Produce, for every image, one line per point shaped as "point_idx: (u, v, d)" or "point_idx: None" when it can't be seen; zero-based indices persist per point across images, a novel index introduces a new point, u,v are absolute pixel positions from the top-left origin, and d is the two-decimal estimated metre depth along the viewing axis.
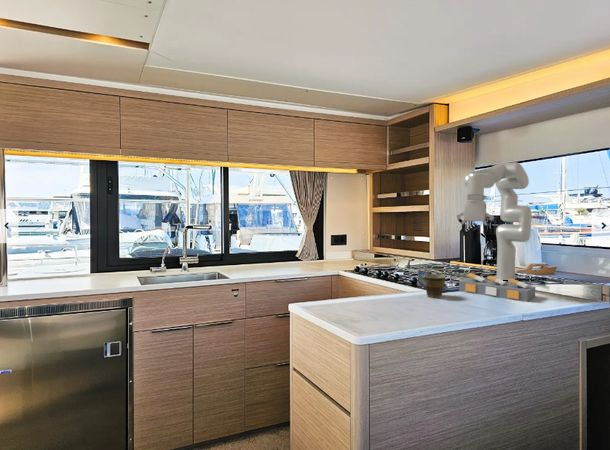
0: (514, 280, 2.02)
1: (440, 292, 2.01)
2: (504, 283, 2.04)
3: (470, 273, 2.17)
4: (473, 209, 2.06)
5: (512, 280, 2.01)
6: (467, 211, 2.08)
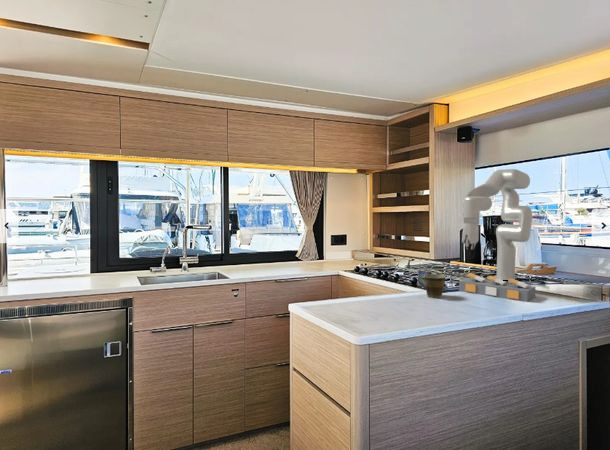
0: (514, 280, 2.02)
1: (440, 292, 2.01)
2: (504, 283, 2.04)
3: (470, 273, 2.17)
4: (475, 232, 2.13)
5: (512, 280, 2.01)
6: (473, 234, 2.11)
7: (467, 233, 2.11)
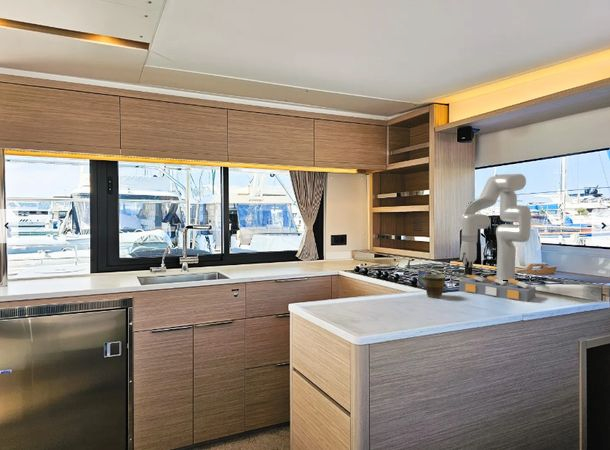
0: (514, 280, 2.02)
1: (440, 292, 2.01)
2: (504, 283, 2.04)
3: None
4: (473, 250, 2.14)
5: (512, 280, 2.01)
6: (470, 252, 2.12)
7: (465, 251, 2.12)
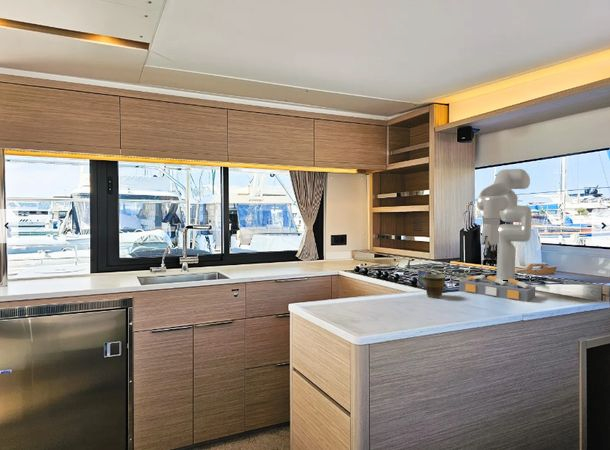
0: (514, 280, 2.02)
1: (440, 292, 2.01)
2: (504, 283, 2.04)
3: (469, 276, 2.18)
4: (495, 233, 2.06)
5: (512, 280, 2.01)
6: (493, 235, 2.04)
7: (487, 234, 2.04)
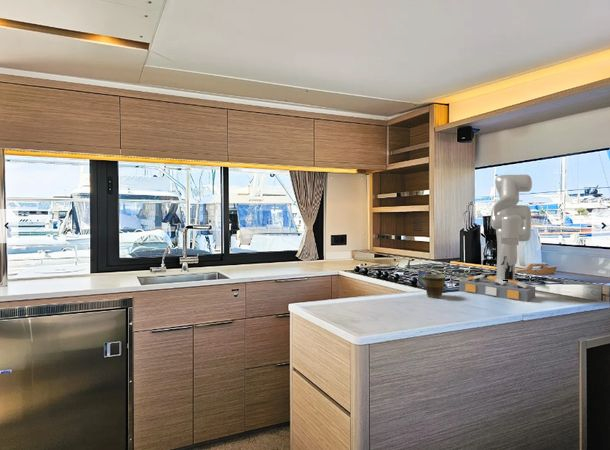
0: (514, 280, 2.02)
1: (440, 292, 2.01)
2: (504, 283, 2.04)
3: (469, 277, 2.18)
4: (514, 253, 2.00)
5: (512, 280, 2.01)
6: (512, 256, 1.98)
7: (506, 254, 1.98)
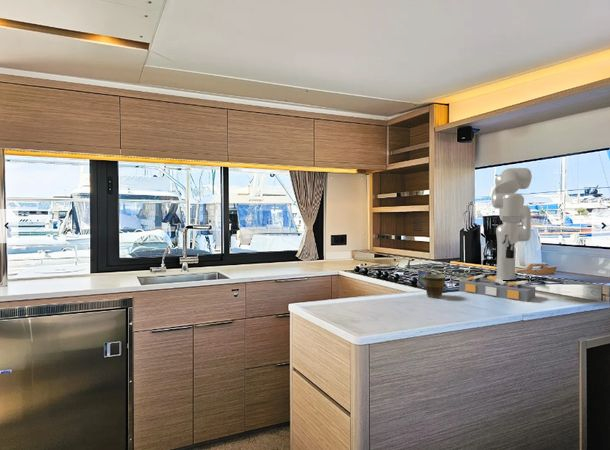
0: (513, 282, 2.02)
1: (440, 292, 2.01)
2: (504, 283, 2.04)
3: (469, 277, 2.18)
4: (515, 232, 1.99)
5: (511, 282, 2.01)
6: (513, 234, 1.98)
7: (507, 233, 1.98)
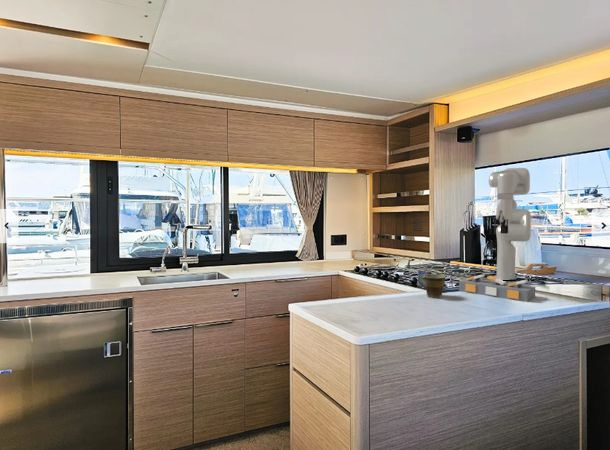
0: (513, 282, 2.02)
1: (440, 292, 2.01)
2: (504, 283, 2.04)
3: None
4: (509, 208, 2.12)
5: (511, 283, 2.01)
6: (507, 210, 2.10)
7: (501, 209, 2.10)
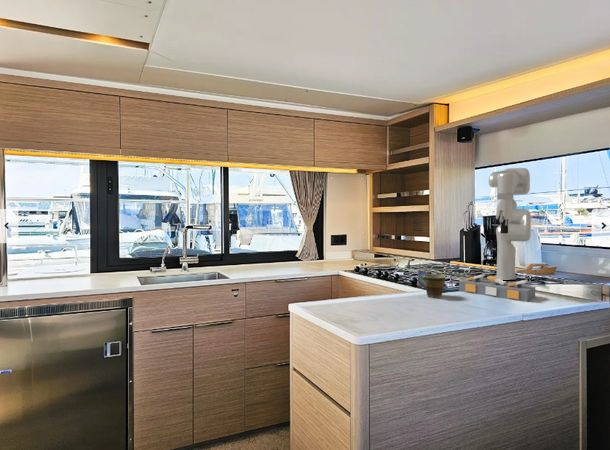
0: (513, 282, 2.02)
1: (440, 292, 2.01)
2: (504, 283, 2.04)
3: None
4: (509, 208, 2.12)
5: (511, 283, 2.01)
6: (507, 210, 2.10)
7: (501, 209, 2.10)
